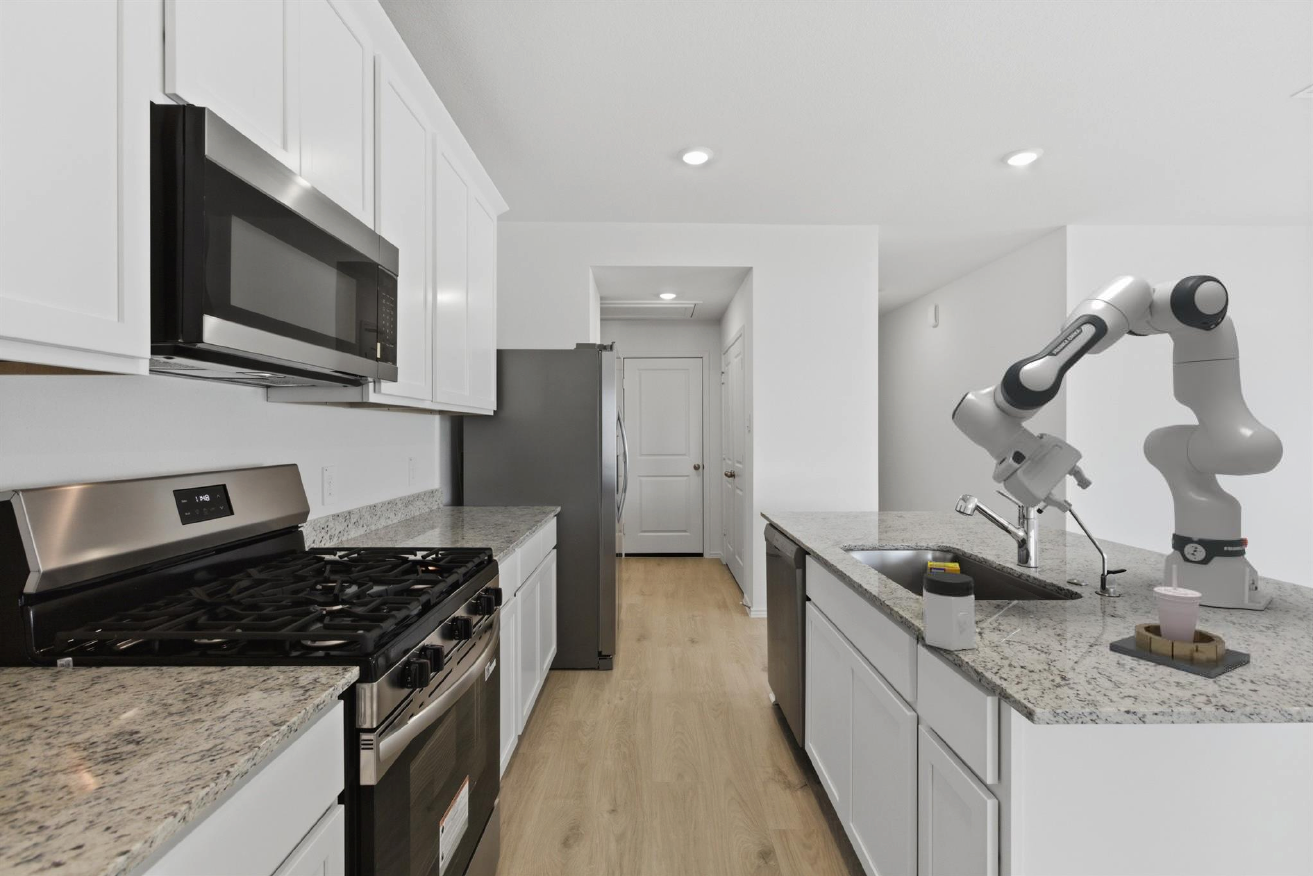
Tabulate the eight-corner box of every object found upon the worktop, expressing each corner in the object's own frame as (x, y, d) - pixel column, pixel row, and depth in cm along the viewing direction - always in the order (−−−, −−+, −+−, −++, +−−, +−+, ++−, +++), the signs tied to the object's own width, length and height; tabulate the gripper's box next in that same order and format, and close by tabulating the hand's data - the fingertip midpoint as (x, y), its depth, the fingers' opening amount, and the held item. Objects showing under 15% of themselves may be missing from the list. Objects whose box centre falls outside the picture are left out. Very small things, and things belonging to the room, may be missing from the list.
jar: (941, 653, 107) (941, 583, 106) (912, 637, 114) (912, 572, 114) (986, 648, 109) (986, 580, 108) (954, 633, 116) (954, 570, 116)
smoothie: (1183, 642, 107) (1183, 561, 107) (1212, 655, 101) (1212, 570, 101) (1143, 641, 108) (1143, 561, 108) (1170, 654, 102) (1170, 569, 101)
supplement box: (927, 620, 124) (927, 566, 124) (926, 612, 130) (926, 560, 130) (960, 623, 122) (960, 568, 122) (958, 615, 128) (958, 562, 128)
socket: (1150, 636, 114) (1150, 616, 114) (1250, 661, 102) (1250, 639, 102) (1109, 649, 107) (1109, 628, 107) (1211, 678, 95) (1211, 654, 95)
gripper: (1033, 438, 139) (1089, 481, 134) (988, 482, 129) (1046, 530, 124) (1052, 421, 134) (1110, 465, 129) (1006, 466, 124) (1067, 515, 119)
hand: (1078, 497), depth 126 cm, fingers open, 8 cm apart
